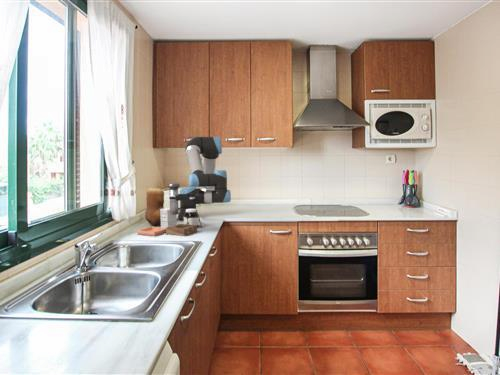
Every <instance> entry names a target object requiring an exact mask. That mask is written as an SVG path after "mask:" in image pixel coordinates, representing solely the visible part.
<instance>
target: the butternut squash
mask: <svg viewBox="0 0 500 375" xmlns="http://www.w3.org/2000/svg"><path fill="white" fill-rule="evenodd" d="M164 196H165V193H164V190H163V189H161V188H158V187H157V188H156V187H151V188H148V189H147V191H146V209H145V214H144V218H145V220H146V222H148V224H150V225H152V227H157V226H158V227H159V226H161V215H160V209H164V208H165V207H164V203H165V200H164Z"/></svg>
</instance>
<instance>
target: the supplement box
mask: <svg viewBox="0 0 500 375" xmlns="http://www.w3.org/2000/svg"><path fill="white" fill-rule="evenodd" d="M160 215H161V224H160V228H166V227H170V226H174V225H177V224H178V221H177V220H178V219H177V215H170V207H164V209H160Z"/></svg>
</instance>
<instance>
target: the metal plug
mask: <svg viewBox="0 0 500 375" xmlns="http://www.w3.org/2000/svg"><path fill="white" fill-rule="evenodd" d="M180 187H181V184H180V182H179V183H177V182H176V183H175V182H174V183H171V182H170V183H167V188H168V189H169V194H168V195H170V196H172V195H176V196H178V194H179V188H180ZM179 207H180V205H179V201H176V200H169V208H170V215H176V216H177V215H179V211H180V208H179Z"/></svg>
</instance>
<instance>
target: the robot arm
mask: <svg viewBox="0 0 500 375" xmlns="http://www.w3.org/2000/svg"><path fill="white" fill-rule="evenodd" d="M184 150H185V151H184V152H185V156H187V159H188V162H189V168H190V174H189V175H188V176H189V177H188V181H189V182H188V183H189V186H187V187H186V186H185V187H182V188H181V189H180V190H179V193H178V196H176V195H172V196H170V194H164V201H170V200H176V201H178V202H179V207H180V208H179V214H177V215H178V216H177V220H180V221H184V214H185V213H186V209H196V212H197V213H198V214H199V212H198V210H197V205H206V204H208V205H211V204H223V203H230V202H231V199H232V198H231V196H232V195H231V190H230V189H228V174H227V170H225V169H224V170H223V169H216V164H217V159H218V158H219V156H220V155H222V153H223V147H222V141H221V139H220V137H219V136H195V137H192V138H190V139H189V140H188V142H187V143H186V144H185V149H184ZM201 156H202V157H201ZM201 158H203V163H202V159H201Z"/></svg>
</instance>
